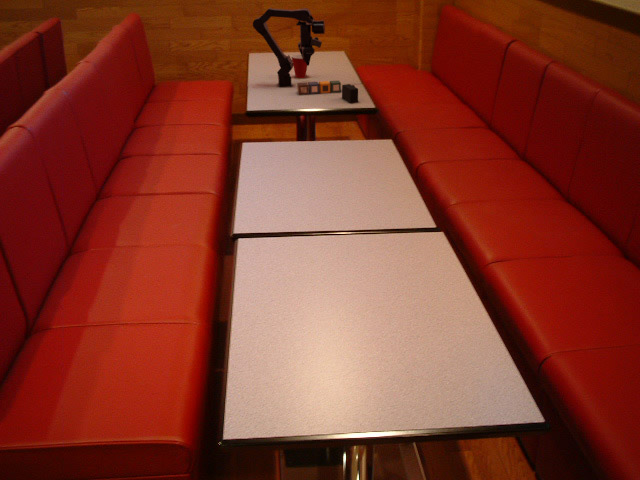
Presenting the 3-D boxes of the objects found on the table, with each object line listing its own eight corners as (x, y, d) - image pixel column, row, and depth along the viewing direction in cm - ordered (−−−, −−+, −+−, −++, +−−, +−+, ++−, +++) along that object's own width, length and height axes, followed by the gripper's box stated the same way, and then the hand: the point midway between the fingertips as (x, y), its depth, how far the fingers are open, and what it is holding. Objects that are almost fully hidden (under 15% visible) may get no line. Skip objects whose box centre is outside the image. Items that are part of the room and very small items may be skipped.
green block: (331, 92, 336) (331, 83, 334) (329, 90, 341) (329, 80, 338) (340, 92, 337) (340, 82, 335) (338, 89, 341) (338, 80, 339)
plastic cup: (313, 77, 367) (313, 56, 361) (298, 80, 362) (297, 58, 356) (303, 73, 375) (303, 52, 369) (288, 76, 370) (287, 55, 364)
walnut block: (299, 94, 333) (298, 85, 331) (297, 92, 338) (297, 83, 336) (308, 94, 334) (308, 84, 332) (306, 91, 339) (306, 82, 336)
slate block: (310, 94, 334) (309, 84, 332) (308, 91, 339) (308, 82, 337) (319, 93, 335) (319, 84, 333) (317, 91, 340) (317, 81, 337)
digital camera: (360, 102, 320) (360, 88, 316) (350, 103, 318) (350, 89, 315) (351, 97, 328) (351, 83, 325) (342, 98, 326) (342, 84, 323)
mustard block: (320, 93, 335) (320, 83, 333) (319, 90, 340) (318, 81, 338) (330, 92, 336) (330, 83, 334) (328, 90, 341) (328, 81, 338)
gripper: (323, 36, 330) (324, 66, 337) (317, 30, 346) (317, 59, 354) (302, 37, 328) (303, 67, 336) (297, 31, 345) (298, 60, 352)
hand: (306, 63), depth 344 cm, fingers open, 9 cm apart
